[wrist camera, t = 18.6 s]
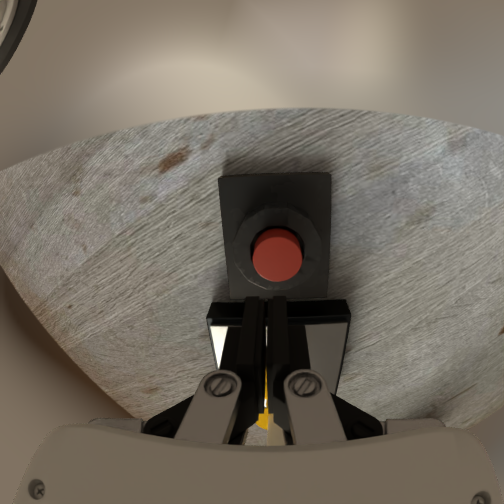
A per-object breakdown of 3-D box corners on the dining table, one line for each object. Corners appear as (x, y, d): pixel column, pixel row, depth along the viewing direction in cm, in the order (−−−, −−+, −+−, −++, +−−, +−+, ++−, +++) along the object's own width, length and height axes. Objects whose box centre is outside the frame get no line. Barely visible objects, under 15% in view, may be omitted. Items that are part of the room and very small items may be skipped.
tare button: (253, 228, 19) (251, 237, 18) (300, 227, 19) (302, 236, 18) (255, 270, 21) (254, 282, 19) (300, 269, 20) (302, 281, 19)
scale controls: (220, 175, 21) (212, 182, 18) (328, 172, 20) (336, 177, 17) (232, 292, 25) (227, 312, 22) (324, 290, 24) (330, 310, 21)
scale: (211, 302, 25) (204, 321, 22) (345, 298, 24) (353, 318, 21) (226, 387, 30) (223, 407, 27) (332, 385, 29) (335, 406, 26)
